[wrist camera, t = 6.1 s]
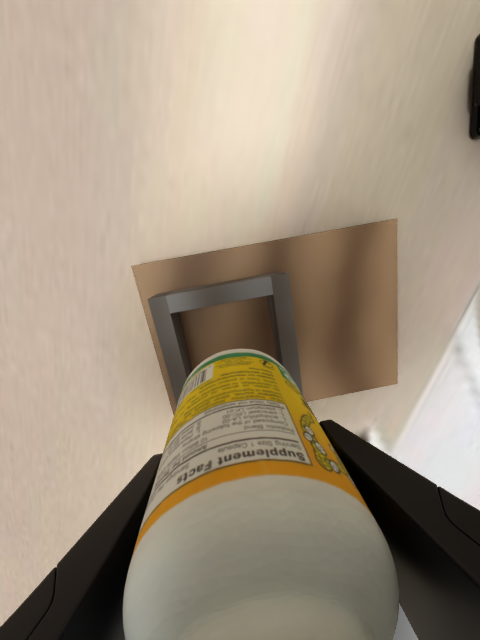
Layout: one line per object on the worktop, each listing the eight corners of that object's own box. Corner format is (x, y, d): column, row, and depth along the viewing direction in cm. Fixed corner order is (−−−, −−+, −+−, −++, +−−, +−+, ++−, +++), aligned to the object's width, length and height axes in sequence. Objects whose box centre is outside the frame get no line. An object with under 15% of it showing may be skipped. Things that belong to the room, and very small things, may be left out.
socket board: (383, 221, 19) (424, 212, 15) (386, 375, 23) (419, 399, 19) (138, 265, 19) (116, 267, 15) (180, 416, 22) (171, 449, 18)
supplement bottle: (175, 349, 10) (-213, 1097, 1) (295, 340, 11) (766, 871, 1) (188, 451, 12) (62, 1166, 2) (294, 441, 12) (534, 1044, 3)
